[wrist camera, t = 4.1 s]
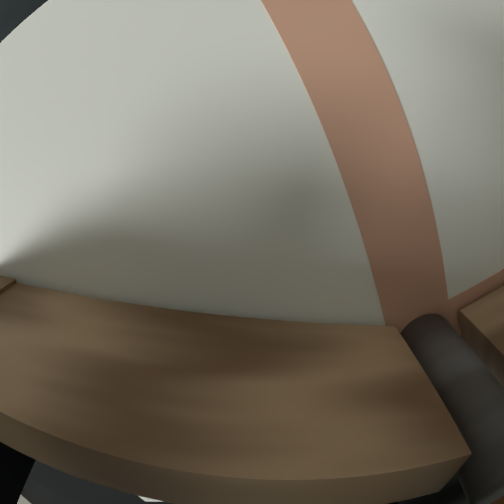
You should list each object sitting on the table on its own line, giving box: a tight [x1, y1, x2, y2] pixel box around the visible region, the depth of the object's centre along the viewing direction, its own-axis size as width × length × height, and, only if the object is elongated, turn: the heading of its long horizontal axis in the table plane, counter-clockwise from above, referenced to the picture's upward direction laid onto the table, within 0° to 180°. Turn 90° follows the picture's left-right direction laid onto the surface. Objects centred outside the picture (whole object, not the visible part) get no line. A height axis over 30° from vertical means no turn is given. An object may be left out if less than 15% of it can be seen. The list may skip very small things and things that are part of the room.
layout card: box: [0, 0, 504, 501], centre depth 9 cm, size 23×30×1 cm
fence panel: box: [0, 276, 472, 504], centre depth 7 cm, size 15×2×6 cm, turn 85°
